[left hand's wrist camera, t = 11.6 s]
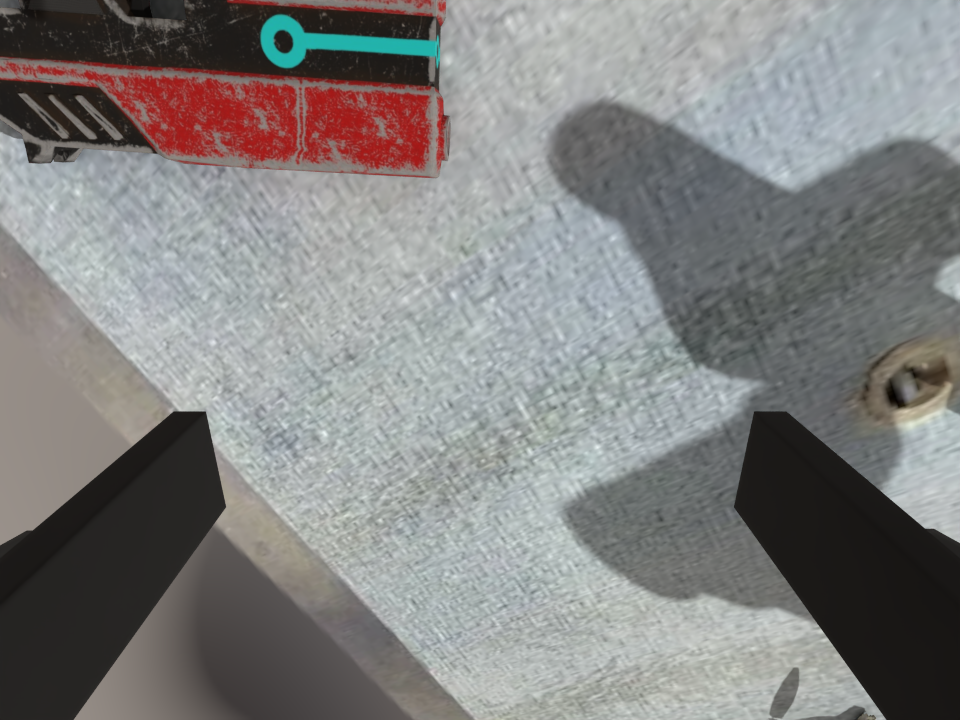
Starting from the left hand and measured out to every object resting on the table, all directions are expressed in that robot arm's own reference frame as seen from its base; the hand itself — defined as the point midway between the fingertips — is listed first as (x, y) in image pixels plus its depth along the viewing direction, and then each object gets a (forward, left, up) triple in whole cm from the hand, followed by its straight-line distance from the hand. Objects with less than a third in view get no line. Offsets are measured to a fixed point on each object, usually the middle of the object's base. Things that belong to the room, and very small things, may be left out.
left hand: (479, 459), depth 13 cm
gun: (-9, -21, -31) cm, 38 cm away
